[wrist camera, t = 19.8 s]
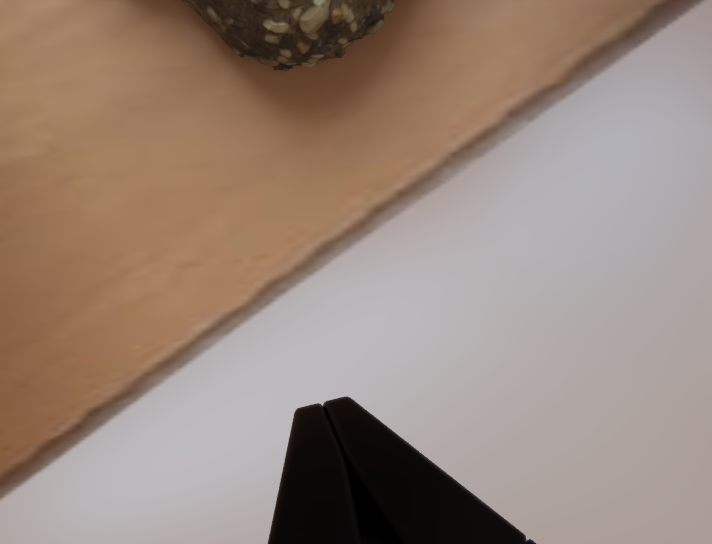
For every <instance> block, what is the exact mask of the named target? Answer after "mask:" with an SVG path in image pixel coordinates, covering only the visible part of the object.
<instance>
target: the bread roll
mask: <svg viewBox="0 0 712 544" xmlns="http://www.w3.org/2000/svg"><path fill="white" fill-rule="evenodd" d="M184 1H185V2H186V3H187V4H188V5H190V6H191V7H192V8H193V9H194V10H195V11H196V12H197V13H198V14H199V15H201V16H202V17H203V19H204V20H205V21H206V22H207V23H208V24H209V25H210V26H211V27H212V28H213V29H214V30H215V31H216V32H218V33H219V34H220V36H221V37H222V38H223V40H224V41H225V42H226V44H228V45H229V46H230V47H231V48H232V49H233V50H234V51H235V52H236V53H237V54H238V55H239V56H241V57H243V56H244V55H246V54H247V55H248V56H253V57H255V58H256V59H258V60H259V61H260V62H261V63H264V64H267V65H270V66H273V68H274V69H275V70H278V69H280V70H285V71H287V70H289V69H290V68H292V67H293V66H296V65H299V66H303V67H307V68H311V67H313V66H314V65H315V64H317V63H321V62H323V61H325V60H327V59H332V58H340V57H342V56H343V55H344V54H345V53H346V52H345V49H344V48H345V47H346V46H348V45H350V44H351V43H352V42H353V41H354V40H357V39H362V38H363V37H364V36H365V35H368V34H372V33H374V32H376V31H378V30H379V29H380V28H381V27H382V25H383V23H384V16H383V15H384V14H385V13H387V12H389V11H391V10H392V9H393V7H394V6H395V2H394V0H184Z"/></svg>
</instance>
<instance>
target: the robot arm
mask: <svg viewBox="0 0 712 544" xmlns="http://www.w3.org/2000/svg"><path fill="white" fill-rule="evenodd" d="M268 544H536V543H535V542H534V541H532V540H531V539H529V540H527V541H526V536H525V535H524V534H523V533H522V532H520V531H519V530H518V529H517V528H515V527H514V526H513V525H511V524H510V523H509V522H508V521H507V520H505V519H504V518H503V517H501V516H500V515H499V514H498V513H496V512H495V511H494V510H493V509H491V508H490V507H489V506H488V505H486V504H485V503H484V502H482V501H481V500H480V499H478V498H477V497H476V496H475V495H473V494H472V493H471V492H470V491H468V490H467V489H466V488H465V487H463V486H462V485H461V484H459V483H458V482H457V481H456V480H454V479H453V478H452V477H451V476H449V475H448V474H447V473H446V472H444V471H443V470H442V469H440V468H439V467H438V466H437V465H435V464H434V463H433V462H432V461H430V460H429V459H428V458H426V457H425V456H424V455H423V454H421V453H420V452H419V451H418V450H416V449H415V448H414V447H412V446H411V445H410V444H409V443H407V442H406V441H405V440H403V439H402V438H401V437H400V436H398V435H397V434H396V433H395V432H393V431H392V430H391V429H390V428H388V427H387V426H386V425H384V424H383V423H382V422H381V421H379V420H378V419H377V418H376V417H374V416H373V415H372V414H370V413H369V412H368V411H367V410H365V409H364V408H363V407H361V406H360V405H359V404H358V403H356V402H355V401H354V400H352V399H351V398H349V397H342V398H338V399H333V400H329V401H326V402H325V403H324V404H323V406H322V405H321V404H319V403H318V404H314V405H309V406H305V407H301V408H298V409H297V410H296V411H295V413H294V418H293V423H292V428H291V433H290V438H289V443H288V447H287V452H286V458H285V463H284V467H283V472H282V477H281V482H280V487H279V491H278V497H277V501H276V507H275V511H274V516H273V521H272V526H271V531H270V535H269V541H268Z"/></svg>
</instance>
